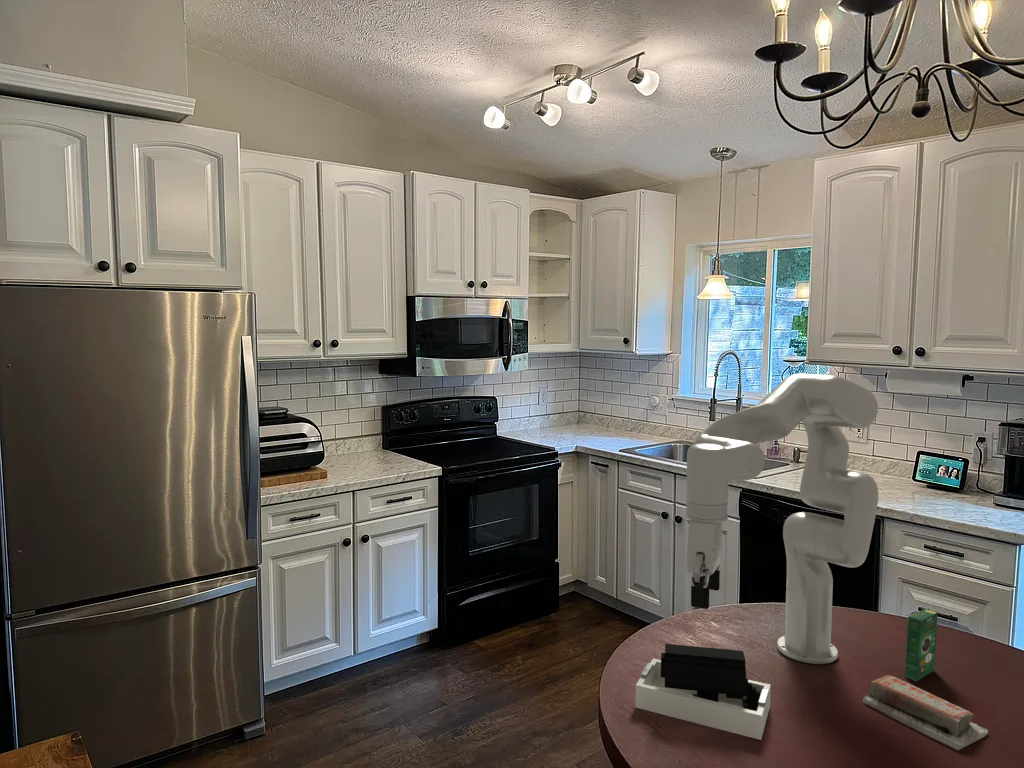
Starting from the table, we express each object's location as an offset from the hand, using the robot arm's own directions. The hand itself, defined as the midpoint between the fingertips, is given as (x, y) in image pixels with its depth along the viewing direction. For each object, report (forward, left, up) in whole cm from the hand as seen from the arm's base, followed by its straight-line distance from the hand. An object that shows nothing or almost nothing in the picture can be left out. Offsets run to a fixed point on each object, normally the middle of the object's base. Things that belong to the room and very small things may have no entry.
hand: (705, 597), depth 131 cm
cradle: (0, 0, -22) cm, 22 cm away
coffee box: (-34, +38, -22) cm, 55 cm away
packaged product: (-15, +37, -22) cm, 46 cm away
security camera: (0, +1, -21) cm, 21 cm away
